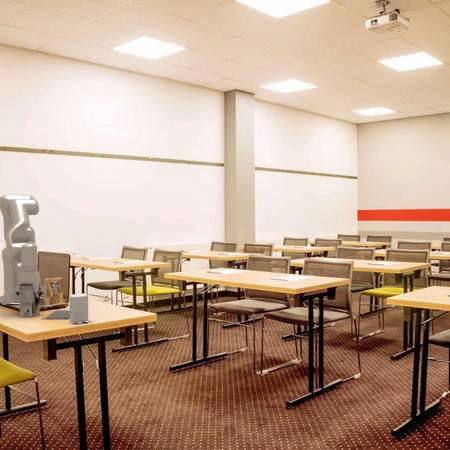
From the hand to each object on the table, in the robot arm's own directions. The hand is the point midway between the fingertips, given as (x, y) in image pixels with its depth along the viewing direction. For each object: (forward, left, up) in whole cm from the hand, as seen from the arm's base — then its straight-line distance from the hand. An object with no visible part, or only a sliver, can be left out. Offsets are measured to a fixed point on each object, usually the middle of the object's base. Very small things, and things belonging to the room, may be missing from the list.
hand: (29, 304), depth 253 cm
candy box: (+5, +21, -5) cm, 22 cm away
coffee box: (0, 0, -5) cm, 5 cm away
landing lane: (+15, 0, -5) cm, 16 cm away
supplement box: (+28, -14, -5) cm, 32 cm away
